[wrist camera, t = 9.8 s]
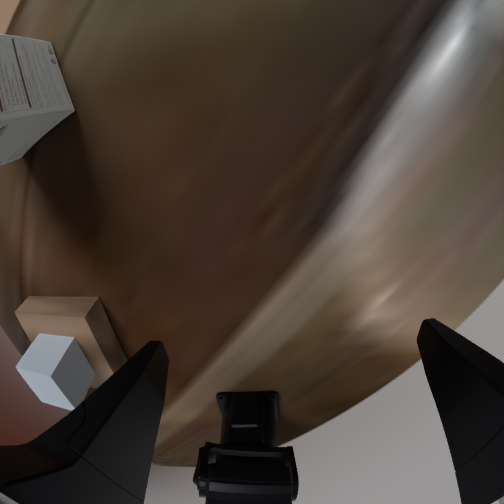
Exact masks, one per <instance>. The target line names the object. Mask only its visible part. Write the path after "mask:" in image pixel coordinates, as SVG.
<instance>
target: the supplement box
mask: <svg viewBox="0 0 504 504" xmlns="http://www.w3.org/2000/svg"><path fill="white" fill-rule="evenodd" d="M74 111H75V110H74V107H73V104H72V101H71V98H70V95H69V93H68V90H67V87H66V85H65V82H64V79H63V76H62V73H61V70H60V67H59V64H58V61H57V58H56V55H55V52H54V49H53V46H52V43H51V42H47V41H42V40H37V39H31V38H26V37H19V36H12V35H5V34H0V166H1V165H4V164H6V163H9V162H12V161H14V160H17V159H20V158H22V157H23V155H24V154H25V153H26V152H27V151H28V150H29V149H30V148H31V147H32V146H33V145H34V144H35V143H36V142H37V141H38V140H39V139H40V138H41V137H43V136H44V135H45V134H46V133H47V132H48V131H50V130H51V129H52V128H53V127H54V126H56V125H57V124H58V123H59V122H61V121H62V120H63V119H65V118H66V117H67V116H69V115H70V114H71V113H73V112H74Z"/></svg>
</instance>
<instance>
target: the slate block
mask: <svg viewBox="0 0 504 504" xmlns="http://www.w3.org/2000/svg"><path fill="white" fill-rule="evenodd" d="M16 368H17V370H18V371H19V373H20V374H21V375H22V377H23V378H24V379H25V381H26V382H27V384H28V385H29V386H30V387H31V389H32V390H33V391H34V393H35V394H36V395H37V396H38V398H39V399H40V400H41V401H42V402H44V403H47V404H51V405H54V406H57V407H61V408H64V409H68V410H73V409H75V408H76V407H77V406H78V405H79V404H80V403H81V402H82V401H83V400H84V398H85V396H86V393H87V391H88V389H89V387H90V385H91V383H92V381H93V379H94V377H95V375H96V374H95V372H94V370H93V369H92V367H91V365H90V364H89V362H88V360H87V359H86V357H85V355H84V353H83V352H82V350H81V348H80V346H79V345H78V343H77V341H76V339H75V337H67V336H58V335H50V334H42V333H39V334H38V336H37V337H36V339H35V340H34V341H33V343H32V344H31V345H30V347H29V348H28V350H27V351H26V353H25V354H24V355H23V357H22V358H21V360H20V361H19V363H18V364H17V366H16Z"/></svg>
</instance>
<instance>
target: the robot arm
mask: <svg viewBox="0 0 504 504" xmlns="http://www.w3.org/2000/svg"><path fill="white" fill-rule="evenodd" d="M417 344H418V347H419V351H420V355H421V358H422V362H423V366H424V370H425V374H426V376H427V380H428V383H429V386H430V389H431V391H432V394H433V397H434V400H435V403H436V406H437V409H438V412H439V415H440V418H441V421H442V424H443V428H444V431H445V435H446V438H447V442H448V445H449V449H450V453H451V457H452V461H453V465H454V469H455V471H456V472H455V474H456V478H457V483H458V487H459V492H460V498H461V503H462V504H491V503H493V502H495V501H497V500H498V501H499V504H504V363H503V362H502V361H500V360H499V359H497V358H496V357H494V356H493V355H491V354H490V353H488V352H487V351H485V350H483V349H482V348H480V347H479V346H477V345H476V344H474V343H472V342H471V341H469V340H468V339H466V338H465V337H463V336H462V335H460V334H458V333H457V332H455V331H454V330H452V329H450V328H449V327H447V326H446V325H444V324H442V323H441V322H439V321H438V320H436V319H434V318H430V319H425V320H423V322H422V324H421V327H420V330H419V333H418V336H417ZM168 367H169V358H168V355H167V353H166V350H165V348H164V345H163V343H162V342H161V341H149V342H148V343H147V344H146V345H145V346H143V347H142V348H141V349H140V350H139V351H138V352H137V353H136V354H135V355H133V356H132V357H131V358H130V359H129V360H128V361H127V362H126V363H125V364H124V365H122V366H121V367H120V368H119V369H118V370H117V371H116V372H115V373H114V374H112V375H111V376H110V377H109V378H108V379H107V380H106V381H105V382H104V383H102V384H101V385H100V386H99V387H98V388H97V389H96V390H95V391H94V392H92V393H91V394H90V395H89V396H88V397H87V398H86V399H85V401H82V402H81V403H80V404H79V405H78V406H77V407H76V408H75V409H73V410H72V411H71V412H70V413H69V414H68V415H67V416H65V417H64V418H62V419H61V420H60V421H59V422H57V423H56V424H55V425H53V426H52V427H50V428H49V429H48V430H46V431H45V432H44V433H42V434H41V435H40V436H38V437H37V438H35V439H34V440H32V441H30V442H28V443H25V444H21V445H6V446H0V504H144V499H145V493H146V487H147V482H148V477H149V471H150V467H151V462H152V457H153V452H154V447H155V442H156V437H157V433H158V428H159V424H160V419H161V415H162V410H163V406H164V401H165V393H166V384H167V375H168ZM216 399H217V402H218V405H219V408H220V411H221V414H222V417H223V419H222V429H221V439H220V444H215V443H211V442H206V443H205V446H204V447H201V448H200V449H199V456H198V462H197V465H196V469H195V473H194V477H193V482H194V484H195V485H196V486H197V487H198V490H199V497H204V498H206V503H205V504H292V501H295V500H296V498H297V494H298V484H299V483H298V482H299V481H298V473H297V468H296V462H295V457H294V452H293V447H292V446H287V447H276V437H275V423H277V422H278V421H279V419H278V393H277V392H275V391H265V392H220V393H217V395H216Z"/></svg>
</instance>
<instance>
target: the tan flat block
mask: <svg viewBox="0 0 504 504" xmlns="http://www.w3.org/2000/svg"><path fill="white" fill-rule="evenodd" d="M15 314H16V316H17V318H18V320H19V322H20V323H21V325H22V327H23V329H24V331H25V332H26V334H27V336H28V338H29V339H30V341H31V343H33V341H34V340H35V339H36V337H37V336H38V334H39V333H42V334H50V335H58V336H67V337H75V339H76V341H77V343H78V345H79V346H80V348H81V350H82V352H83V353H84V355H85V357H86V359H87V360H88V362H89V364H90V365H91V367H92V369H93V370H94V372H95V374H96V375H95V377H94V379H93V381H92V383H91V385H90V387H92V388H98V387H99V386H100V385H101V384H102V383H104V382H105V381H106V380H107V379H108V378H109V377H110V376H111V375H112V374H114V373H115V372H116V371H117V370H118V369H119V368H120V367H121V366H122V365H124V364H125V363H126V362H127V361H128V360H127V358H126V356H125V354H124V352H123V350H122V348H121V346H120V344H119V342H118V340H117V338H116V335H115V333H114V331H113V329H112V327H111V324H110V322H109V320H108V317H107V315H106V313H105V310H104V308H103V306H102V303H101V301H100V298H99V297H54V296H29V297H28V298H27V299H26V300H25V301H24V302H23V303H22V305H21V306H20V307H19V308H18V309H17V310H16V311H15Z"/></svg>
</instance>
